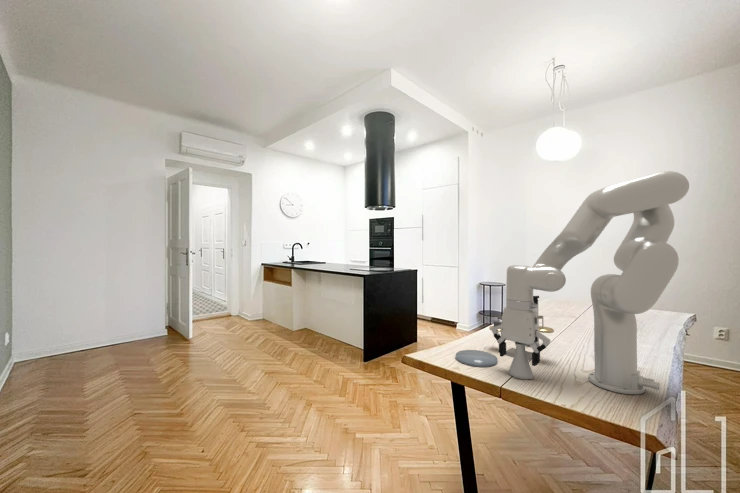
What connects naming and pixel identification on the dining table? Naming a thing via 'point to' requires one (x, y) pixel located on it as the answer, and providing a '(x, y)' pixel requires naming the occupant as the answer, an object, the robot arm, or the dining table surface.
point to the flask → (520, 364)
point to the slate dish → (476, 358)
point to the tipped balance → (512, 351)
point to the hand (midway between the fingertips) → (518, 359)
